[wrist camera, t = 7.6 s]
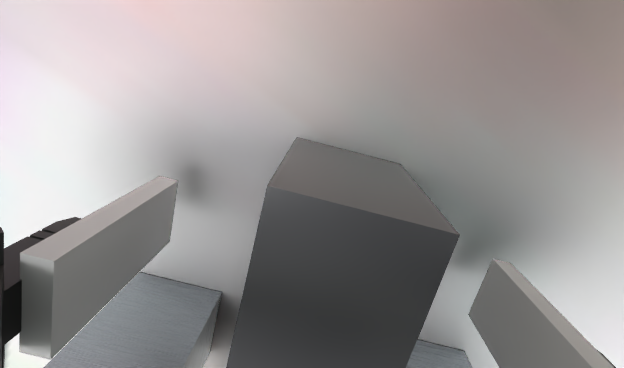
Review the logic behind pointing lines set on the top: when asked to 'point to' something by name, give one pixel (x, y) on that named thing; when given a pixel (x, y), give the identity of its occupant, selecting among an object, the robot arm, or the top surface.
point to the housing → (177, 331)
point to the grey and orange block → (340, 264)
